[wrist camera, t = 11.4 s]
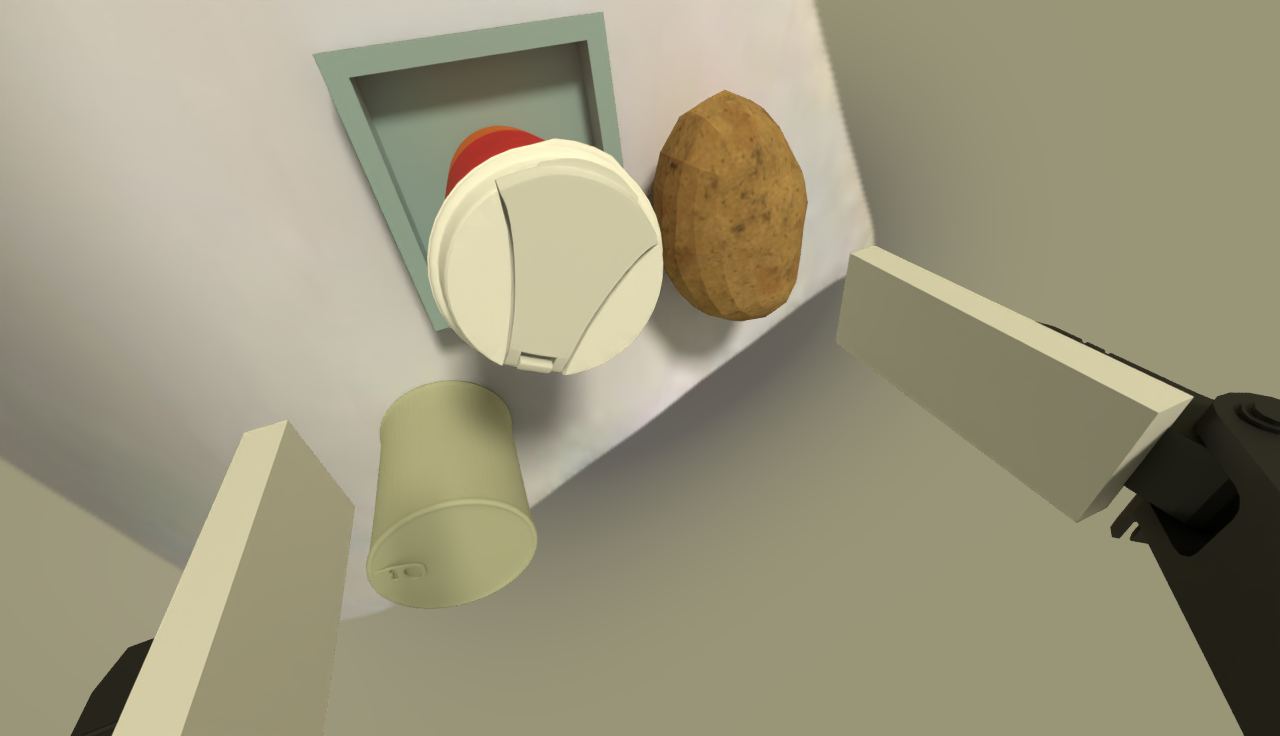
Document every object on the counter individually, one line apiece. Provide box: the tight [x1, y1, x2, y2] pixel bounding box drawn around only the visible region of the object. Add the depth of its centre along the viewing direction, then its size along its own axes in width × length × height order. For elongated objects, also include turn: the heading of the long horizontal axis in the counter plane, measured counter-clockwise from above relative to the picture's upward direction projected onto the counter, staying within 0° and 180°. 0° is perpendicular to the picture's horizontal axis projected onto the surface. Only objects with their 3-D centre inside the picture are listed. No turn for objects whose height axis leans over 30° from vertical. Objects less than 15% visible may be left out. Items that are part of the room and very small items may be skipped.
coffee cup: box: [427, 126, 663, 375], centre depth 22 cm, size 8×8×15 cm
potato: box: [653, 90, 808, 321], centre depth 30 cm, size 10×14×8 cm
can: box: [366, 381, 537, 609], centre depth 32 cm, size 9×9×12 cm
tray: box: [313, 12, 624, 331], centre depth 27 cm, size 14×13×3 cm
